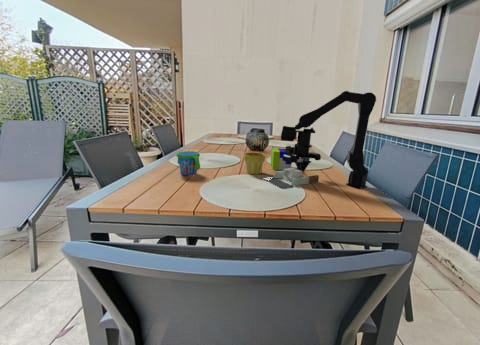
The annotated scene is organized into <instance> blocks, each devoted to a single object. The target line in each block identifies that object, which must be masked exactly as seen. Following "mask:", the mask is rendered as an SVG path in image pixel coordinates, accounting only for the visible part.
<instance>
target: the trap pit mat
mask: <svg viewBox="0 0 480 345" xmlns="http://www.w3.org/2000/svg"><path fill="white" fill-rule="evenodd" d="M269 177H273V178H272V179H271V178H270V179H271V180H269V182H271V183H273V184H272V185H274V184H275V185H274V186H276V185H277V186H276V187H278V186H279V187H278V188H280V189H282V188H284V189H288V188H287V187H290V188H294V186H292V185H291V183H290V184H289V182H286V181H283V180H281V179H280V178H275V176H269ZM267 181H268V180H267ZM267 181H266V182H267ZM269 182H268V183H269ZM271 183H270V184H271Z"/></svg>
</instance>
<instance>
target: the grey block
mask: <svg viewBox="0 0 480 345" xmlns="http://www.w3.org/2000/svg"><path fill="white" fill-rule="evenodd" d="M283 171H284V172H283V177H282V180H283V179H284V181H285V182H288V181H289V182H288V183H290V182H292V178H299V177H303V174H302V171H301V170H298V169H297V168H295V167H291V168H289V169H284V170H283Z"/></svg>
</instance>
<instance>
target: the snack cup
mask: <svg viewBox="0 0 480 345" xmlns="http://www.w3.org/2000/svg"><path fill="white" fill-rule="evenodd" d="M200 155H201V154H200V152H197V151H190V150H187V151H186V150H185V151H179V152H177V153H176V158H177V165H179V169H180V170H179V171H180V174H182V175H184V176H193V175H196V174H197V173H198V172H197V171H199V170H200V168H201V163H200Z"/></svg>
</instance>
